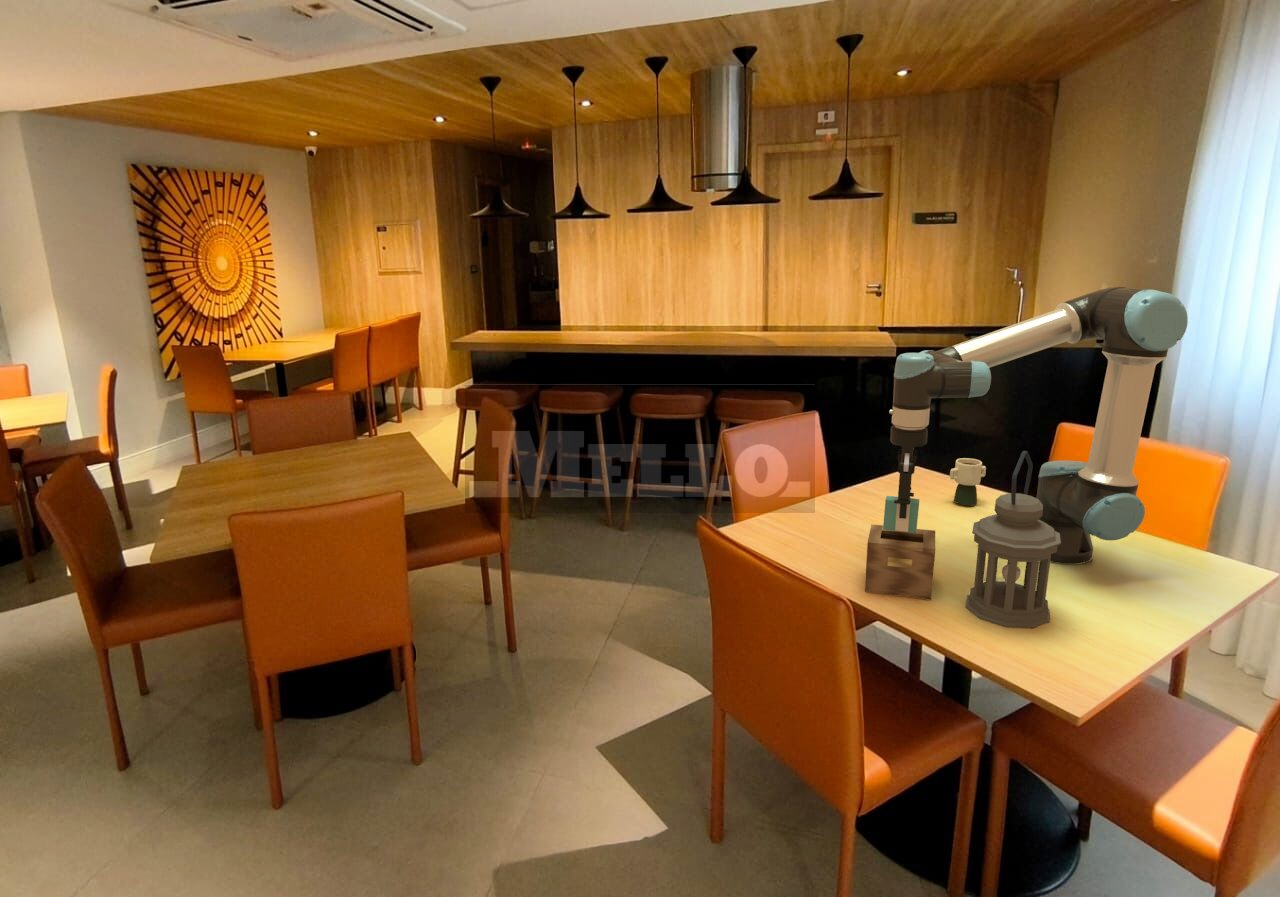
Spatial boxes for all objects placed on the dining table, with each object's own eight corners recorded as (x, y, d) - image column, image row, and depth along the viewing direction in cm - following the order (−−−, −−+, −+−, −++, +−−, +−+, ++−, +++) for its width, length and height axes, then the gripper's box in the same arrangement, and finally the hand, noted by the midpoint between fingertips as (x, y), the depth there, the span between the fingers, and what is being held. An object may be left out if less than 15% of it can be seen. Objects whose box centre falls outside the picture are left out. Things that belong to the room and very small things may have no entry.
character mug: (975, 498, 224) (979, 456, 221) (989, 506, 217) (993, 463, 214) (941, 501, 223) (944, 459, 219) (954, 509, 216) (958, 466, 212)
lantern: (973, 584, 171) (988, 436, 161) (1056, 602, 162) (1077, 446, 152) (955, 615, 158) (970, 455, 148) (1045, 637, 148) (1067, 468, 139)
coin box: (931, 578, 174) (935, 530, 171) (931, 600, 164) (935, 549, 161) (868, 571, 179) (871, 524, 176) (864, 591, 169) (867, 542, 166)
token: (916, 528, 168) (919, 499, 166) (916, 533, 166) (919, 503, 164) (883, 524, 171) (886, 495, 169) (883, 529, 168) (885, 499, 166)
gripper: (893, 416, 170) (886, 513, 176) (889, 433, 156) (882, 539, 162) (928, 418, 167) (920, 516, 174) (927, 436, 153) (919, 543, 159)
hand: (901, 527), depth 168 cm, fingers closed on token, 3 cm apart
